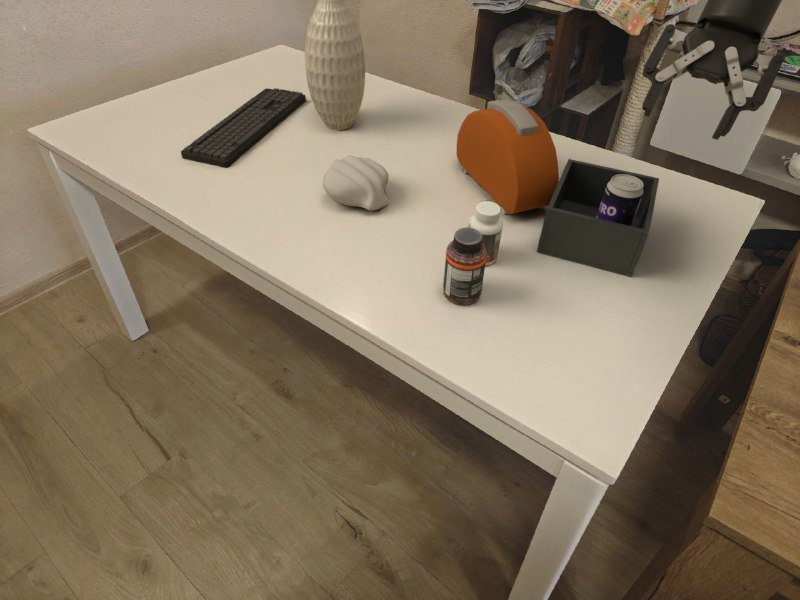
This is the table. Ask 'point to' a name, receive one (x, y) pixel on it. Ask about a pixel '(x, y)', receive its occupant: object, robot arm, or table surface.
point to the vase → (335, 64)
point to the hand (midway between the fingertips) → (680, 126)
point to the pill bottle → (488, 227)
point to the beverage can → (621, 199)
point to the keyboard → (243, 128)
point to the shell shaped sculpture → (357, 182)
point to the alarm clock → (509, 155)
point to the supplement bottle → (464, 267)
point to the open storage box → (594, 220)
